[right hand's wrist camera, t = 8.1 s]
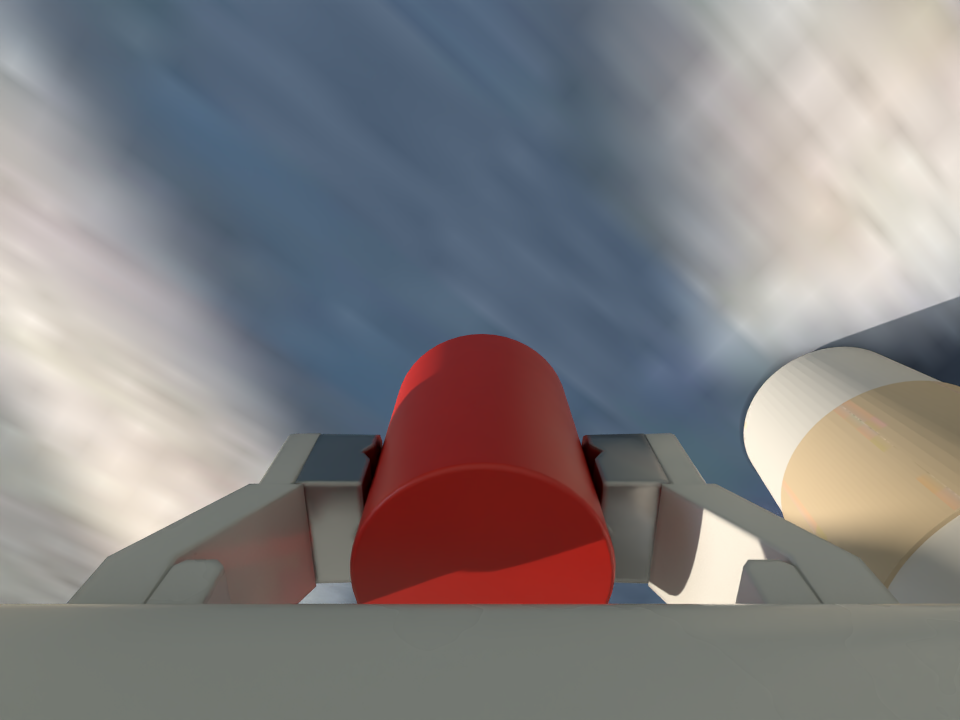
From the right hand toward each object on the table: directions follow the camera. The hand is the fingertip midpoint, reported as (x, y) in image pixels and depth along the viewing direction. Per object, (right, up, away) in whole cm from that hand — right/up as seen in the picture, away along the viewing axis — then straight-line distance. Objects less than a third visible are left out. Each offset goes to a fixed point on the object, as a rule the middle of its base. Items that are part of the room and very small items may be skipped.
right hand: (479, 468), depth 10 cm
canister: (0, +1, +2) cm, 2 cm away
